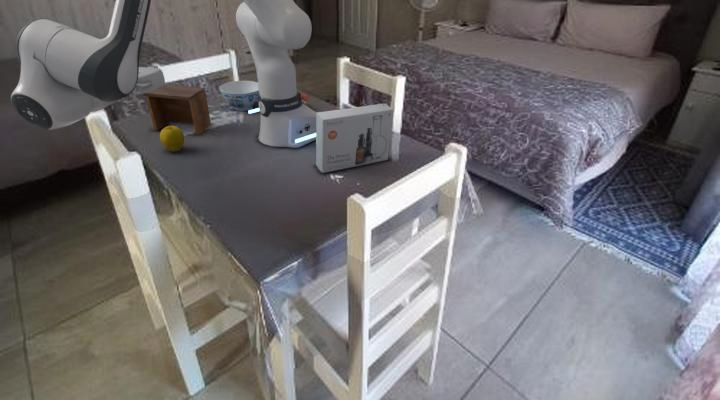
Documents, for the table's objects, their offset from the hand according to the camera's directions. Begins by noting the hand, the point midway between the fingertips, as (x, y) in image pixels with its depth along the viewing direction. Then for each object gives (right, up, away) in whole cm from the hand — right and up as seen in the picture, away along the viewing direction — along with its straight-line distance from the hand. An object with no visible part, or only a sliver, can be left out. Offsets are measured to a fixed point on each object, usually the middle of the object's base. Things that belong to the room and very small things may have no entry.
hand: (137, 67), depth 92 cm
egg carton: (+27, +3, +56) cm, 62 cm away
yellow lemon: (-2, -17, +23) cm, 29 cm away
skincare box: (+50, -21, +21) cm, 58 cm away
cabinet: (-6, -7, +37) cm, 38 cm away
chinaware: (+9, +3, +54) cm, 55 cm away
